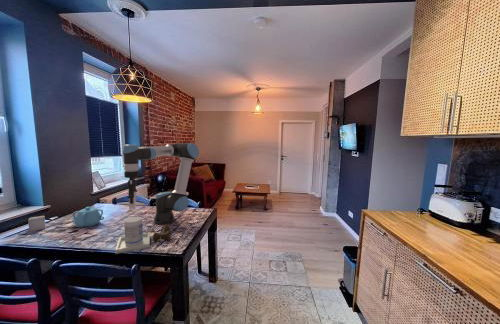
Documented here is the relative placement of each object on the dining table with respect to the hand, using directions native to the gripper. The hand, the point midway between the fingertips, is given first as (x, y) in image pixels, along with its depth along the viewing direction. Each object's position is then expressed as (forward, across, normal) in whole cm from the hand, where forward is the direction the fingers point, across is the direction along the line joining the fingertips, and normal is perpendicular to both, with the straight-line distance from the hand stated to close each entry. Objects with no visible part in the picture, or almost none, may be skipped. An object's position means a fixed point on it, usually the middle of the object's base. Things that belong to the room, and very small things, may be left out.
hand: (132, 205), depth 122 cm
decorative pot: (+25, -48, -33) cm, 63 cm away
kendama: (+25, -2, +16) cm, 30 cm away
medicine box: (+25, -52, -63) cm, 85 cm away
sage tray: (+24, 0, 0) cm, 24 cm away
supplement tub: (+24, 0, 0) cm, 24 cm away
